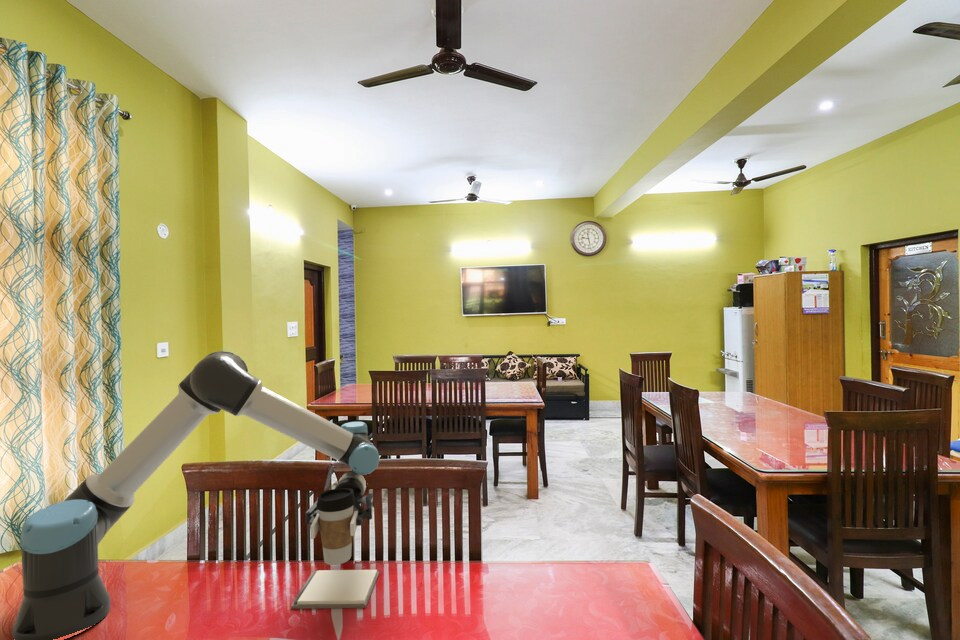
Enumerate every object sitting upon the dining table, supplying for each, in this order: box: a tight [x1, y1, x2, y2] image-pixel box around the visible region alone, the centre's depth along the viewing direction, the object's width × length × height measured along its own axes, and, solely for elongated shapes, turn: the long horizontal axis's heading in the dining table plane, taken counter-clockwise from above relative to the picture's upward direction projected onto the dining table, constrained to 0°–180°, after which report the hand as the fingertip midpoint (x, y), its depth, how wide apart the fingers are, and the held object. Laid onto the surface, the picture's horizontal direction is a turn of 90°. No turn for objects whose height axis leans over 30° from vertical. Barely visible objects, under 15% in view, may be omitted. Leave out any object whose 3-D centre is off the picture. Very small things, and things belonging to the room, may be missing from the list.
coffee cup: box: [316, 488, 355, 566], centre depth 107 cm, size 8×8×15 cm
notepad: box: [290, 569, 380, 610], centre depth 107 cm, size 16×13×1 cm
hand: (332, 531), depth 102 cm, fingers closed on coffee cup, 8 cm apart
